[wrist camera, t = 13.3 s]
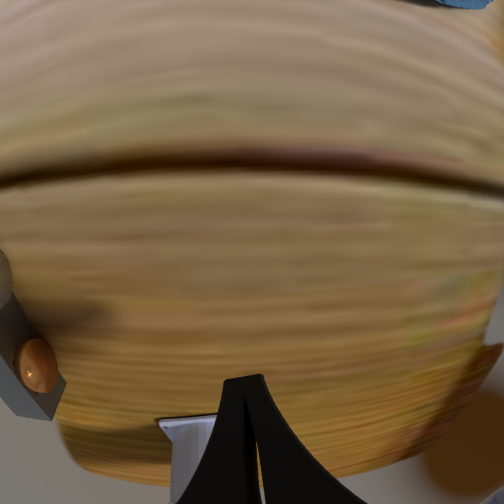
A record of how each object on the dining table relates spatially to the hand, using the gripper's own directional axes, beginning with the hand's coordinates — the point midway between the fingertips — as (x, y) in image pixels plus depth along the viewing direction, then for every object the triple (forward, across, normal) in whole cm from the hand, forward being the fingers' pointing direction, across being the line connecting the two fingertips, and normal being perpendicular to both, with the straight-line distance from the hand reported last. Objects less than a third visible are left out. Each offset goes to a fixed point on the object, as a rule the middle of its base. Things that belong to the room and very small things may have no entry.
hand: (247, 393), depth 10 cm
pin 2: (+9, +23, +4) cm, 25 cm away
